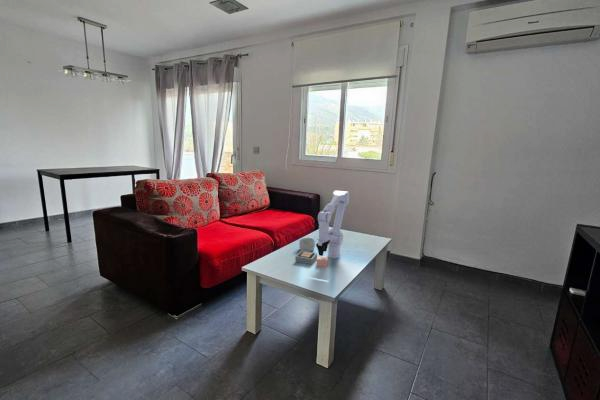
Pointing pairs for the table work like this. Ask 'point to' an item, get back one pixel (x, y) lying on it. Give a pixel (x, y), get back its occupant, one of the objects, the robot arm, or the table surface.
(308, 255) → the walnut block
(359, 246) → the table surface
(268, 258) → the table surface
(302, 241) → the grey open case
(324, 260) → the coral box
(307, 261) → the tote
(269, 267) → the table surface
